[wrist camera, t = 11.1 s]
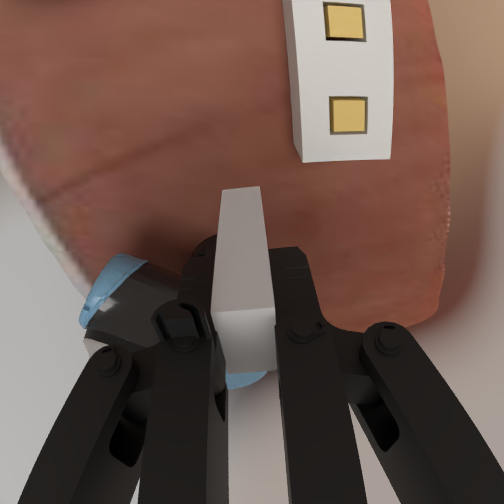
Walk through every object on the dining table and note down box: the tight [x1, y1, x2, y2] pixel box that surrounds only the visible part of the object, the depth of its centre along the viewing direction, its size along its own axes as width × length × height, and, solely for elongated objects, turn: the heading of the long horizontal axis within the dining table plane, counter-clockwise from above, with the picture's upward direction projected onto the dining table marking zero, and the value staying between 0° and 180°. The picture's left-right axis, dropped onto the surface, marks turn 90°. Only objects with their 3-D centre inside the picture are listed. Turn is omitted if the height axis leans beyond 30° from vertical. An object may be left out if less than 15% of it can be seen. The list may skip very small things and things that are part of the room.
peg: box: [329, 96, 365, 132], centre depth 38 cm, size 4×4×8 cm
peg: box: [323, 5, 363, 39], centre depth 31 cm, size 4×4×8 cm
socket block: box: [282, 0, 393, 163], centre depth 35 cm, size 24×12×8 cm, turn 6°
